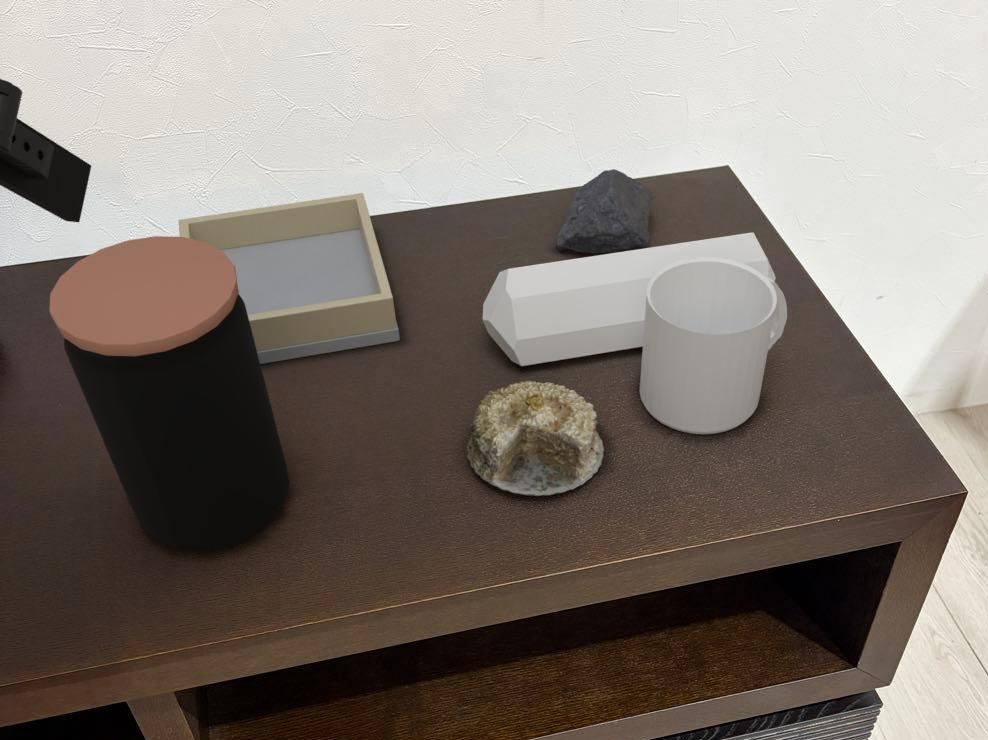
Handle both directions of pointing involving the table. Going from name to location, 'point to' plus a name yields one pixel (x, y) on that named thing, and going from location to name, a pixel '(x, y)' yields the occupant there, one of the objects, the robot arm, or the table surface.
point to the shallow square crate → (305, 275)
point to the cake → (535, 439)
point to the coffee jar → (175, 388)
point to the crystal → (592, 298)
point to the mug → (707, 343)
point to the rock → (607, 215)
